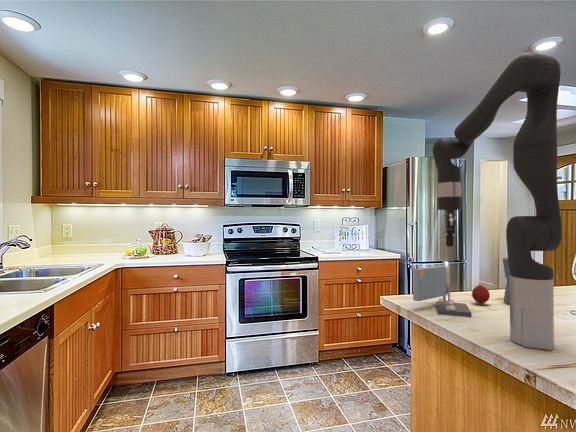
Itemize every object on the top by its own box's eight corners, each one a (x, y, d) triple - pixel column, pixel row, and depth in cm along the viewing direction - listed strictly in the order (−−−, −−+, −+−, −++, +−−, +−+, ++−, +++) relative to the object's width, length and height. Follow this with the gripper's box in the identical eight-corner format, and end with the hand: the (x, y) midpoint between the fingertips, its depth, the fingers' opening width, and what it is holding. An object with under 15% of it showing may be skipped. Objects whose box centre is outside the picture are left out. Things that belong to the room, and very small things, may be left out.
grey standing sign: (418, 301, 113) (418, 270, 113) (412, 299, 115) (412, 269, 115) (446, 295, 121) (446, 266, 121) (440, 294, 124) (439, 265, 124)
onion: (492, 306, 119) (492, 285, 119) (475, 306, 120) (475, 284, 120) (486, 302, 124) (486, 282, 124) (469, 302, 125) (469, 281, 126)
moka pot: (508, 307, 117) (508, 252, 117) (496, 297, 132) (496, 248, 132) (540, 310, 114) (539, 253, 114) (524, 299, 129) (523, 249, 129)
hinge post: (454, 305, 120) (454, 262, 120) (439, 304, 122) (439, 262, 122) (452, 302, 125) (452, 261, 125) (438, 301, 127) (438, 260, 127)
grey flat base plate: (471, 317, 106) (471, 310, 106) (438, 314, 110) (438, 307, 110) (465, 307, 118) (465, 301, 118) (435, 305, 121) (435, 299, 121)
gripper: (464, 194, 104) (464, 248, 104) (458, 197, 116) (459, 245, 116) (438, 195, 107) (439, 247, 107) (436, 197, 119) (436, 244, 119)
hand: (449, 246), depth 112 cm, fingers closed
